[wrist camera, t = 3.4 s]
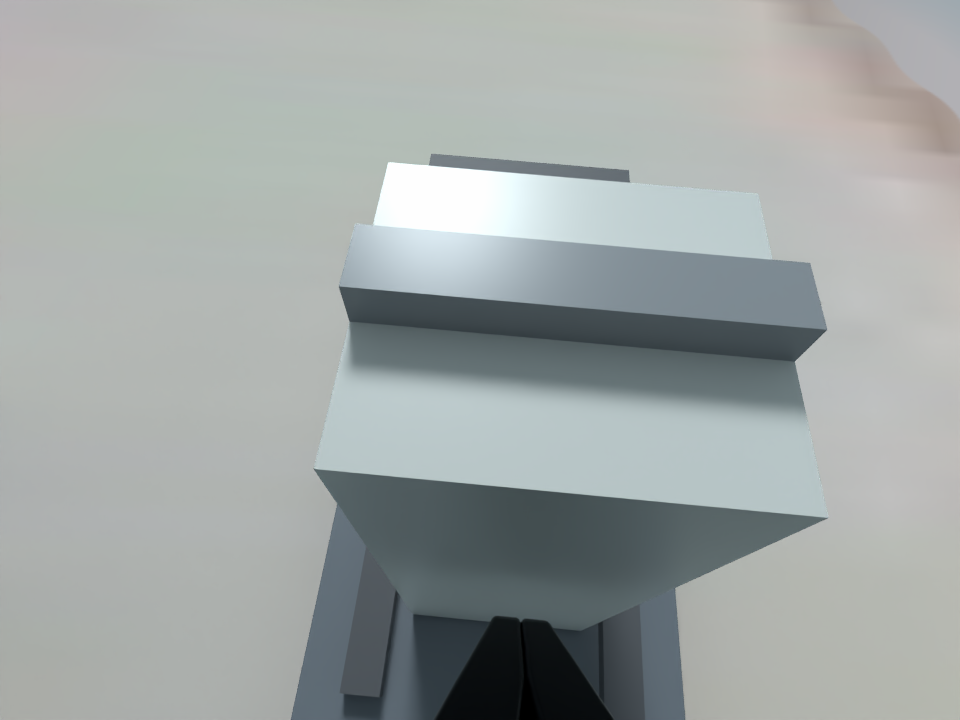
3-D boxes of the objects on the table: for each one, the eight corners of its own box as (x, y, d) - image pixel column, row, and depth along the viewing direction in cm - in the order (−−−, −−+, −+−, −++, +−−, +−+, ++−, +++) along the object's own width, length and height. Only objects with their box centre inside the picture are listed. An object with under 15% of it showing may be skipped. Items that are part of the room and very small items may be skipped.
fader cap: (580, 630, 15) (871, 497, 4) (412, 614, 16) (296, 444, 5) (580, 487, 17) (781, 154, 6) (431, 473, 18) (382, 121, 7)
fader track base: (677, 818, 15) (728, 848, 12) (289, 777, 15) (250, 798, 12) (637, 231, 24) (660, 173, 22) (407, 211, 25) (400, 151, 22)
